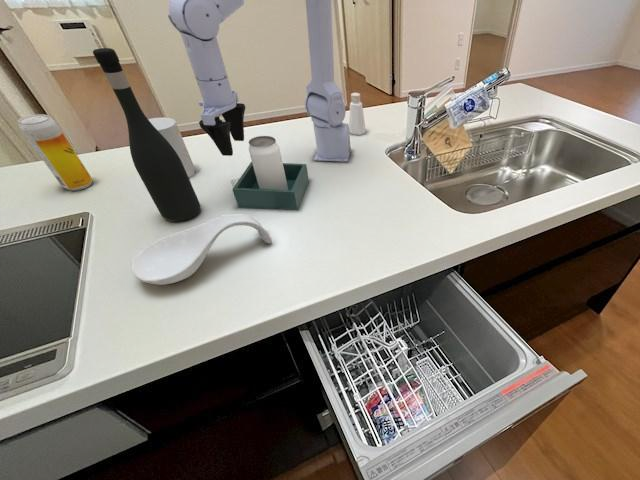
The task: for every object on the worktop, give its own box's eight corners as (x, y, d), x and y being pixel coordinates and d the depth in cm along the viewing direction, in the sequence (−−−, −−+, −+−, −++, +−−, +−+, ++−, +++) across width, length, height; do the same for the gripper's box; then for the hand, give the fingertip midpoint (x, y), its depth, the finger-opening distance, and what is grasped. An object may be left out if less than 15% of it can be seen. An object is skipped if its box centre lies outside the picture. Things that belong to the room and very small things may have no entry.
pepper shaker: (345, 132, 111) (342, 94, 103) (355, 127, 114) (353, 89, 106) (359, 136, 109) (357, 97, 101) (369, 131, 112) (368, 93, 104)
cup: (201, 173, 89) (181, 124, 80) (169, 184, 85) (144, 133, 76) (187, 162, 93) (166, 114, 84) (155, 172, 88) (130, 123, 80)
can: (292, 186, 86) (281, 136, 77) (283, 199, 81) (271, 148, 72) (266, 183, 86) (253, 133, 77) (256, 197, 81) (241, 146, 73)
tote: (309, 180, 89) (306, 163, 85) (297, 209, 79) (294, 192, 76) (255, 178, 88) (251, 161, 85) (238, 207, 79) (232, 189, 76)
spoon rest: (149, 304, 58) (126, 273, 53) (133, 267, 64) (111, 235, 59) (280, 252, 69) (272, 221, 63) (256, 224, 75) (247, 194, 70)
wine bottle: (158, 210, 77) (70, 46, 55) (196, 199, 80) (126, 42, 59) (167, 227, 73) (75, 58, 51) (206, 216, 76) (136, 52, 54)
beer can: (100, 182, 84) (58, 116, 73) (77, 193, 80) (29, 126, 69) (81, 177, 85) (37, 111, 75) (57, 188, 81) (7, 121, 71)
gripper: (205, 66, 72) (227, 133, 82) (173, 87, 62) (202, 161, 72) (239, 67, 72) (257, 134, 82) (213, 89, 62) (236, 162, 72)
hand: (233, 147), depth 77 cm, fingers open, 7 cm apart
